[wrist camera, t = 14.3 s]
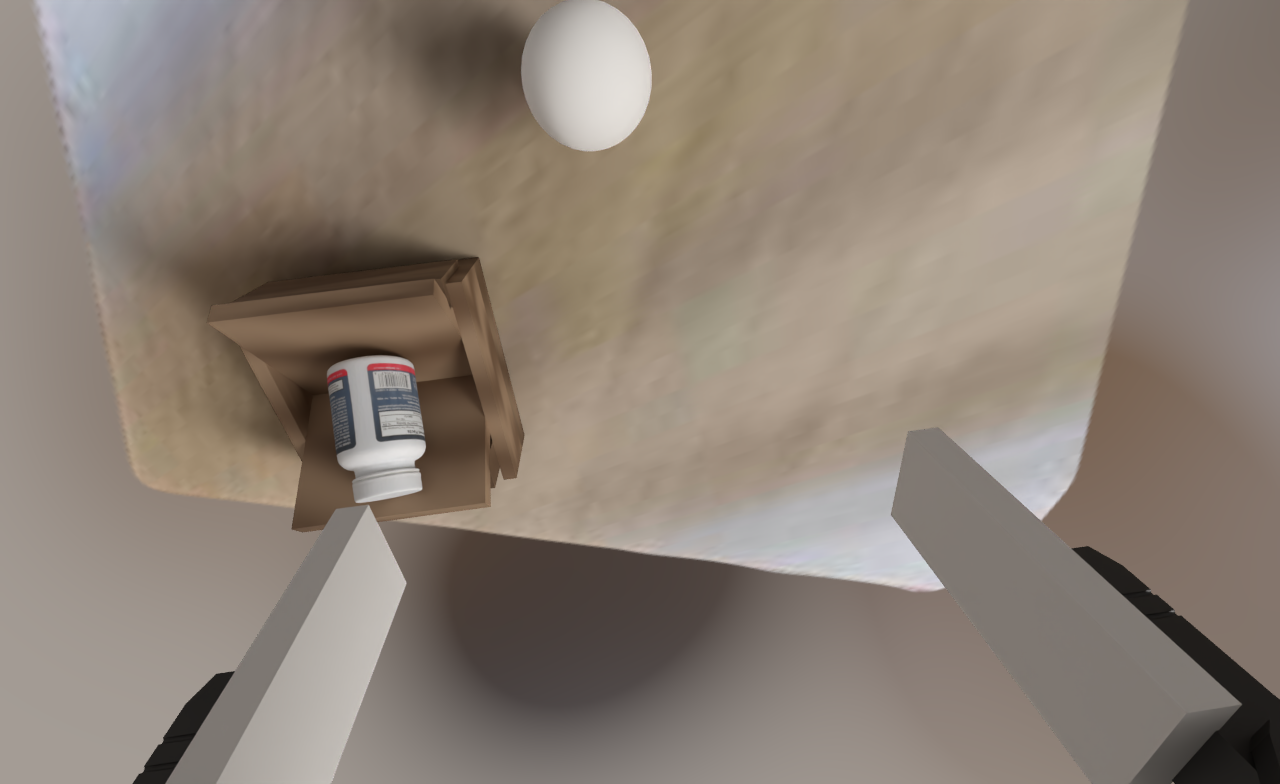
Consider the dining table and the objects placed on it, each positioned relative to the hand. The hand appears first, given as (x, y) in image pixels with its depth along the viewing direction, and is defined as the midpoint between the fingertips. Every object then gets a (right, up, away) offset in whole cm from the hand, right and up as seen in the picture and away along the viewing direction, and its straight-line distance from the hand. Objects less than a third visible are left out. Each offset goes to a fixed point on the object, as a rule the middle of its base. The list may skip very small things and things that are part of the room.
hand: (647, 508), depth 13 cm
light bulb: (-4, +23, +20) cm, 31 cm away
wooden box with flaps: (-19, +5, +28) cm, 34 cm away
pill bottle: (-18, +5, +22) cm, 29 cm away
